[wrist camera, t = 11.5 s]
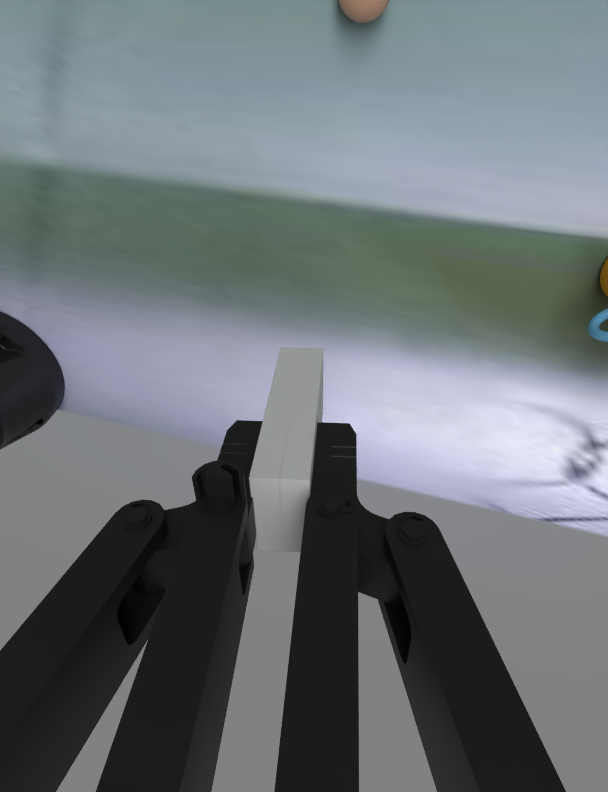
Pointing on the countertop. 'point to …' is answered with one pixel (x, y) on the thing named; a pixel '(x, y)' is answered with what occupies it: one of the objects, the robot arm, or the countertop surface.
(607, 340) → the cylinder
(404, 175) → the countertop surface
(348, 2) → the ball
